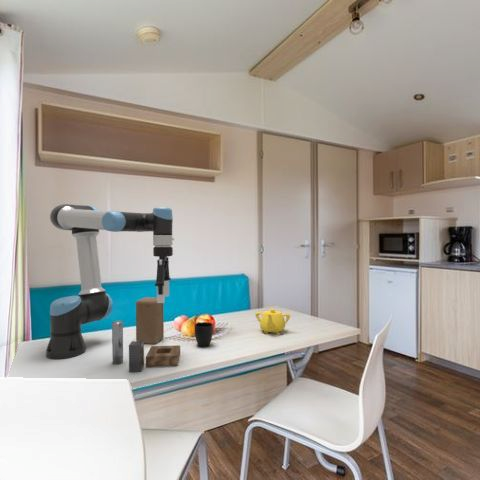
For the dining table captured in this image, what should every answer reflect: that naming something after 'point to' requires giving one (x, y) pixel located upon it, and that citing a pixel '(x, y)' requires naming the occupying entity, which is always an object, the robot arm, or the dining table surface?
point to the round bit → (117, 342)
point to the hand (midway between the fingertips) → (163, 299)
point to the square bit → (136, 356)
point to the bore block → (163, 356)
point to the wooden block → (149, 320)
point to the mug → (203, 333)
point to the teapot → (272, 321)
